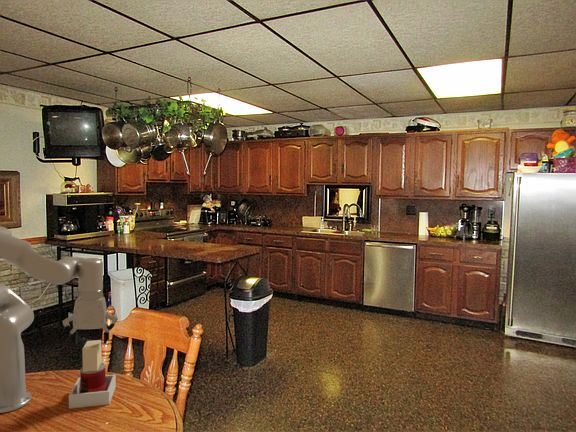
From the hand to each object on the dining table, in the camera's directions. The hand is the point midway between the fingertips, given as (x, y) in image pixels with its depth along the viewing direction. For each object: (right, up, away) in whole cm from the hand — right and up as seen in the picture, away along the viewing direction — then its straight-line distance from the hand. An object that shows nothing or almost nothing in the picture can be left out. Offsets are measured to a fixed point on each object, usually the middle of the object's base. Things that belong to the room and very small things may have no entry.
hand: (90, 343), depth 139 cm
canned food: (0, -20, +2) cm, 20 cm away
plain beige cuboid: (0, -8, +1) cm, 8 cm away
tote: (0, -19, +2) cm, 19 cm away
